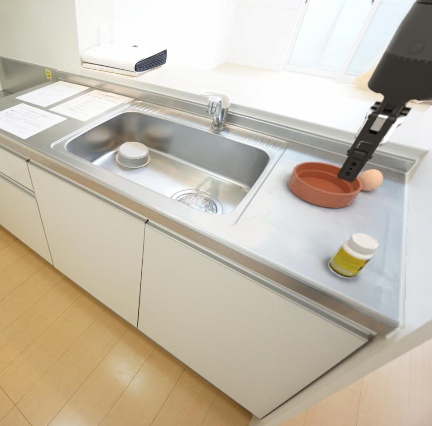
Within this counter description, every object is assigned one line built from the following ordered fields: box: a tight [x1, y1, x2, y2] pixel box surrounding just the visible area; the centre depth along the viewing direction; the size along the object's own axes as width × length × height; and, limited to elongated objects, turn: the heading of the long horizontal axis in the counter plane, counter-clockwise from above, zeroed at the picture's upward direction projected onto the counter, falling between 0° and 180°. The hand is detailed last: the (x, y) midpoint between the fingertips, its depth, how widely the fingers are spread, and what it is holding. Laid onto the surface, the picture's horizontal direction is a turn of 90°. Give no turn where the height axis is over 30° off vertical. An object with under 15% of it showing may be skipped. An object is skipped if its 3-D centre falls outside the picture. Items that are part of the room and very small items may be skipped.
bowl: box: [287, 161, 363, 209], centre depth 74 cm, size 15×15×4 cm
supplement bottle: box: [327, 232, 380, 280], centre depth 53 cm, size 5×5×8 cm
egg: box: [357, 168, 384, 192], centre depth 73 cm, size 5×5×6 cm
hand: (353, 168), depth 44 cm, fingers open, 8 cm apart
